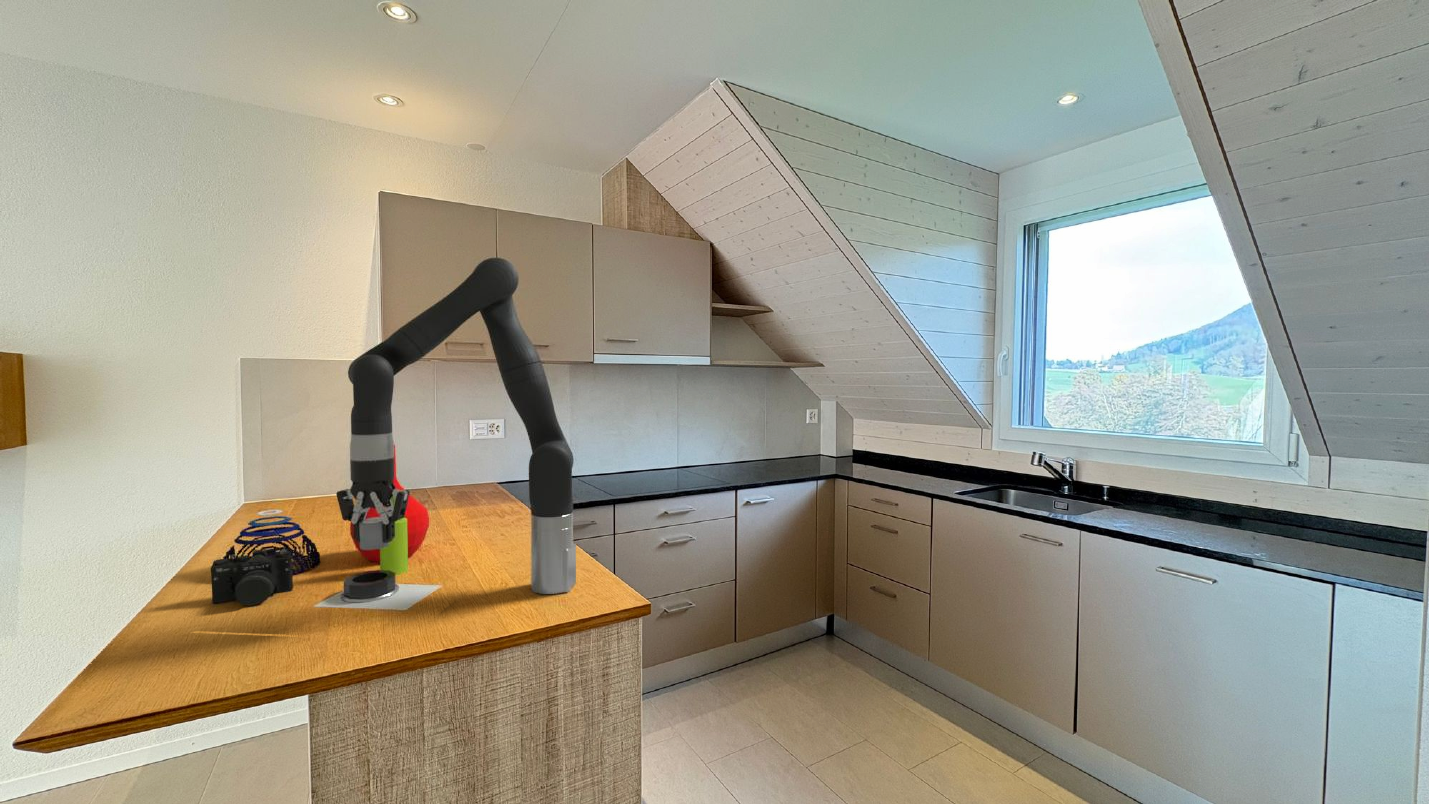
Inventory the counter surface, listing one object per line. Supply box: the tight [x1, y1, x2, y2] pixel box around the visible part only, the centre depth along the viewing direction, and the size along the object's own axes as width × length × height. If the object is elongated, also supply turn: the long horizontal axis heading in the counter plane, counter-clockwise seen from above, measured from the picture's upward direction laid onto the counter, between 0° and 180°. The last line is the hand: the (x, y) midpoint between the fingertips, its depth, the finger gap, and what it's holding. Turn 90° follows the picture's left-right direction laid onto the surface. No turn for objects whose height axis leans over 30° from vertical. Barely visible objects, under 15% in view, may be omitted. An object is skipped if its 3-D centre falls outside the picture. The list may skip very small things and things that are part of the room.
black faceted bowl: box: [341, 570, 399, 603], centre depth 128 cm, size 11×11×4 cm
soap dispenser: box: [379, 494, 411, 576], centre depth 142 cm, size 6×7×20 cm
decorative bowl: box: [222, 509, 321, 577], centre depth 145 cm, size 20×20×14 cm
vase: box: [349, 444, 430, 563], centre depth 155 cm, size 18×18×30 cm
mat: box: [312, 583, 443, 611], centre depth 127 cm, size 20×14×1 cm
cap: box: [359, 517, 389, 550], centre depth 116 cm, size 5×5×5 cm
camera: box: [210, 549, 294, 607], centre depth 124 cm, size 14×11×10 cm
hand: (374, 541), depth 116 cm, fingers closed on cap, 5 cm apart
